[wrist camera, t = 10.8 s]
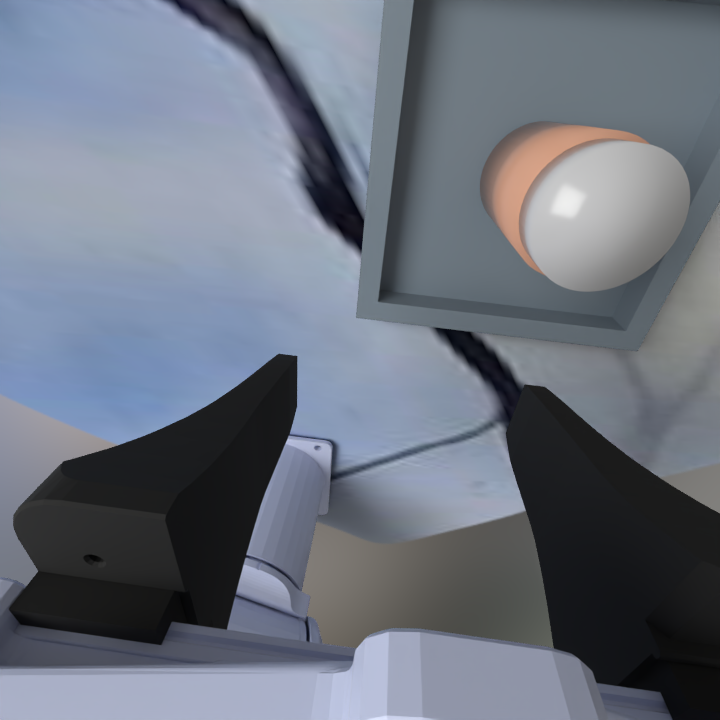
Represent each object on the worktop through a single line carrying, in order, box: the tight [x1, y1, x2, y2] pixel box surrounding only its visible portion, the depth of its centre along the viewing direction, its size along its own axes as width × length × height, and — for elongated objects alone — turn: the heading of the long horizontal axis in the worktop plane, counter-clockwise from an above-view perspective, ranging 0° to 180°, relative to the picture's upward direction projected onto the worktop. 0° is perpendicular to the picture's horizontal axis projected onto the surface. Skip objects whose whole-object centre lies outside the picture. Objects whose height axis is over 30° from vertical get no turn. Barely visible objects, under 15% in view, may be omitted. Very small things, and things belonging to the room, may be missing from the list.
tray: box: [356, 0, 720, 351], centre depth 17 cm, size 14×14×2 cm
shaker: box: [480, 121, 690, 292], centre depth 14 cm, size 4×4×8 cm
